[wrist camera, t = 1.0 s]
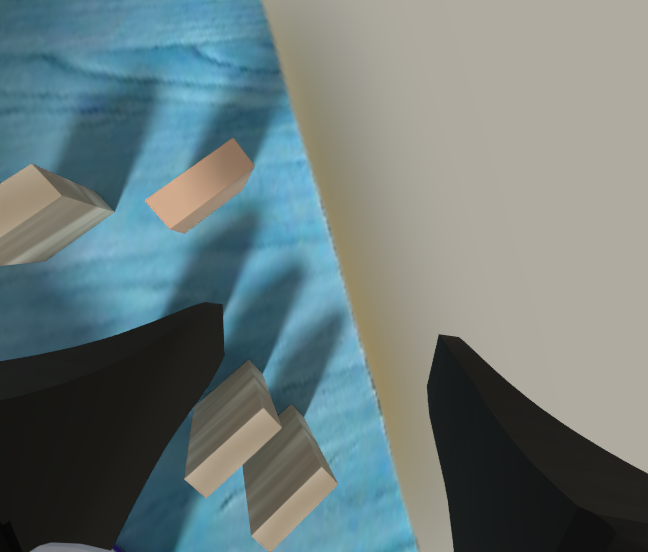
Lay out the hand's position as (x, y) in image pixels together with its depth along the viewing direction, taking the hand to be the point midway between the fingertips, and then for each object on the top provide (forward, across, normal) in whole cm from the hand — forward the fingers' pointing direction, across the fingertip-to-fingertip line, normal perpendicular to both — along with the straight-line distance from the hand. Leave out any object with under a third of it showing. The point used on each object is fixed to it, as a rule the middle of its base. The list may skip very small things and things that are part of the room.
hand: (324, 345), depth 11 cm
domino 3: (+10, +8, +11) cm, 17 cm away
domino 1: (+9, +17, 0) cm, 20 cm away
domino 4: (+10, +4, +15) cm, 19 cm away
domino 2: (+13, +10, -2) cm, 17 cm away
